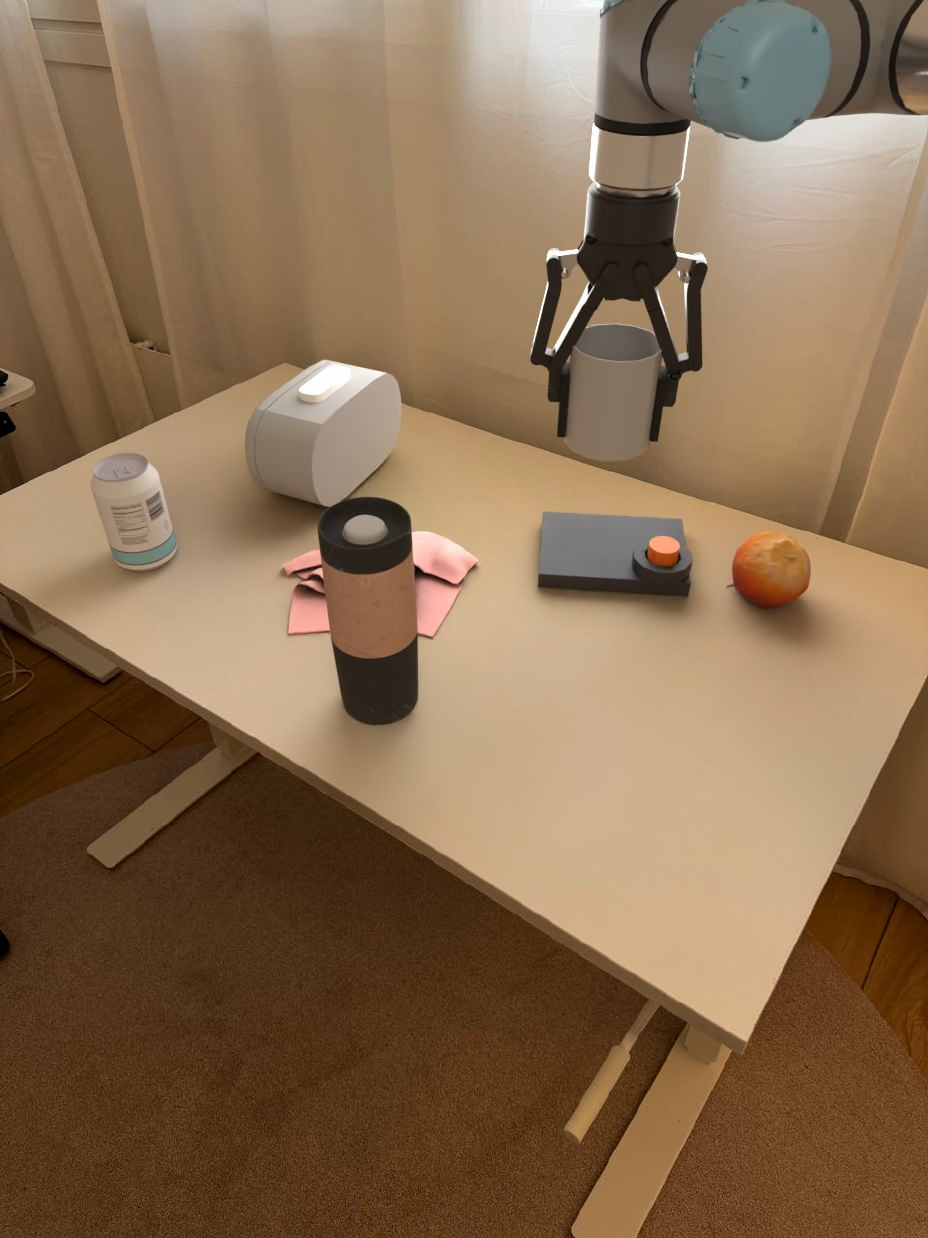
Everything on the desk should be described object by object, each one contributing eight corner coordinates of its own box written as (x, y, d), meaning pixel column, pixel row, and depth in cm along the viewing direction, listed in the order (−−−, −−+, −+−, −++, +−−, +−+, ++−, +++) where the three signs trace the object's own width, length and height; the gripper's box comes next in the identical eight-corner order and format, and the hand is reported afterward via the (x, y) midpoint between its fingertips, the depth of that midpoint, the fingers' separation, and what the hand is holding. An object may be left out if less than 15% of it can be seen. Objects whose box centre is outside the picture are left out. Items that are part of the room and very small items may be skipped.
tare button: (676, 549, 96) (678, 536, 95) (678, 567, 94) (681, 554, 93) (646, 548, 96) (648, 534, 95) (647, 566, 94) (650, 552, 93)
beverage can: (165, 533, 104) (140, 442, 97) (189, 562, 100) (165, 469, 92) (107, 554, 101) (76, 462, 93) (129, 585, 97) (99, 491, 89)
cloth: (500, 555, 101) (500, 538, 99) (400, 676, 86) (399, 658, 84) (348, 509, 108) (346, 492, 106) (232, 613, 93) (228, 595, 92)
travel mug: (323, 696, 84) (296, 519, 71) (387, 658, 88) (372, 484, 75) (373, 741, 80) (354, 562, 67) (437, 699, 84) (432, 523, 71)
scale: (679, 532, 104) (684, 507, 102) (689, 600, 95) (694, 574, 92) (542, 524, 105) (543, 499, 103) (537, 591, 96) (539, 565, 94)
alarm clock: (343, 433, 122) (333, 338, 113) (403, 448, 119) (398, 352, 110) (253, 508, 108) (233, 407, 99) (319, 528, 105) (305, 425, 96)
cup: (550, 427, 90) (556, 331, 83) (622, 413, 92) (634, 318, 86) (588, 468, 84) (598, 368, 77) (664, 452, 86) (680, 353, 80)
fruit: (744, 545, 99) (790, 509, 93) (787, 603, 98) (837, 571, 91) (697, 573, 96) (742, 539, 89) (742, 634, 94) (790, 604, 87)
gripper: (760, 173, 75) (712, 418, 89) (508, 167, 76) (502, 409, 91) (774, 200, 69) (720, 457, 84) (502, 193, 71) (496, 446, 85)
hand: (606, 432), depth 87 cm, fingers closed on cup, 8 cm apart
